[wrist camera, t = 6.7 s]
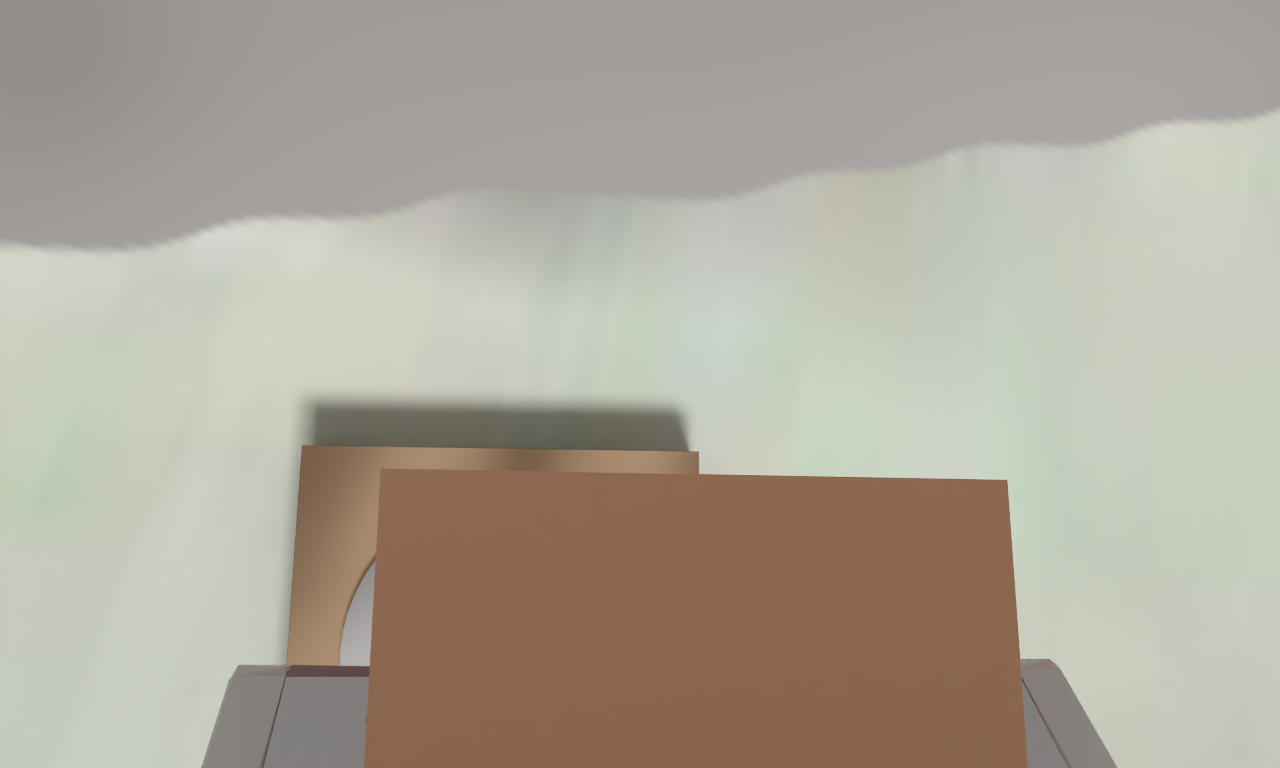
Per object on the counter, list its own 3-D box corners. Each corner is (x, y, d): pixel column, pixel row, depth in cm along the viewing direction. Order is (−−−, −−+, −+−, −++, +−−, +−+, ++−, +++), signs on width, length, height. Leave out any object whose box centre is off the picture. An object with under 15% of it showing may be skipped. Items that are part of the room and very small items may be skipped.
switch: (690, 457, 32) (715, 438, 28) (694, 852, 29) (723, 896, 25) (312, 452, 31) (279, 430, 26) (284, 865, 28) (242, 913, 24)
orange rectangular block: (767, 528, 16) (1007, 480, 9) (774, 875, 15) (1058, 1177, 8) (440, 524, 16) (380, 469, 8) (424, 889, 15) (338, 1237, 7)
